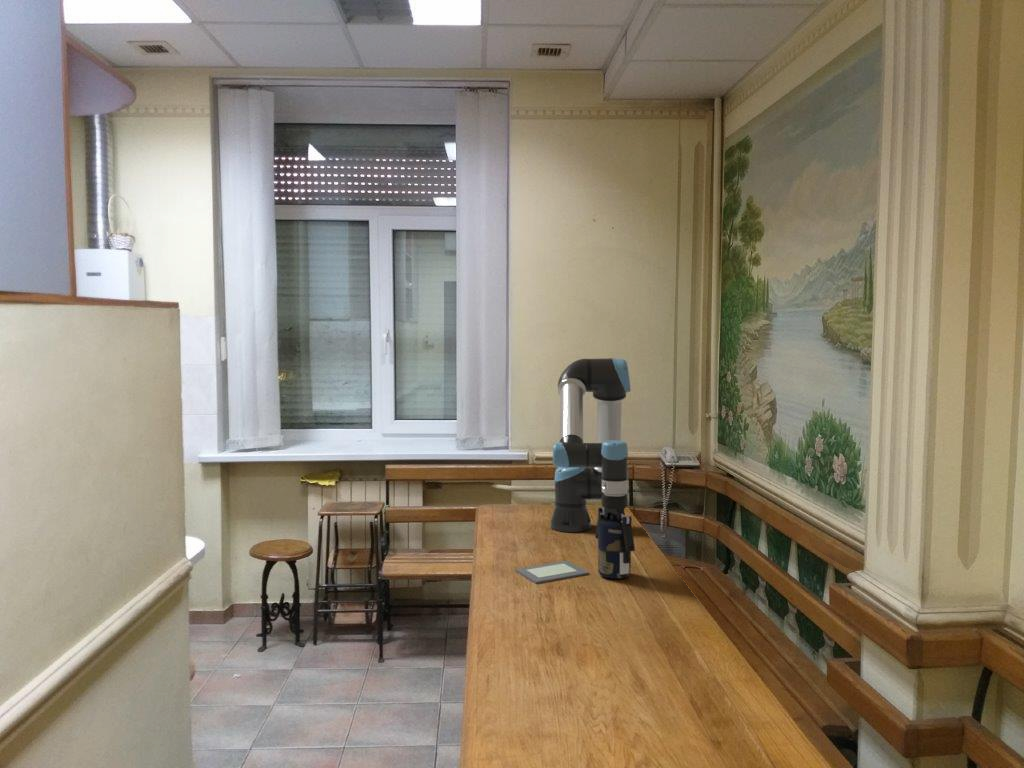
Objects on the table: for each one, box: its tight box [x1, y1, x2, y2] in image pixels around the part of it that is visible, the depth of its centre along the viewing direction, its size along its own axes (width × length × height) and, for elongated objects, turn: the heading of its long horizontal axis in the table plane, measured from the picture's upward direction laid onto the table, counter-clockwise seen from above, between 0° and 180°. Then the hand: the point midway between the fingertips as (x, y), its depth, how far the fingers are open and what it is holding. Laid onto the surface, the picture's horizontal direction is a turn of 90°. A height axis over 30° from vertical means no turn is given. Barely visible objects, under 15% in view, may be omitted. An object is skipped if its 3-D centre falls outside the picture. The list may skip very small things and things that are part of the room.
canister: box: [597, 517, 632, 580], centre depth 213 cm, size 10×10×18 cm
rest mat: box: [514, 560, 590, 585], centre depth 217 cm, size 18×13×1 cm
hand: (614, 568), depth 213 cm, fingers closed on canister, 9 cm apart
